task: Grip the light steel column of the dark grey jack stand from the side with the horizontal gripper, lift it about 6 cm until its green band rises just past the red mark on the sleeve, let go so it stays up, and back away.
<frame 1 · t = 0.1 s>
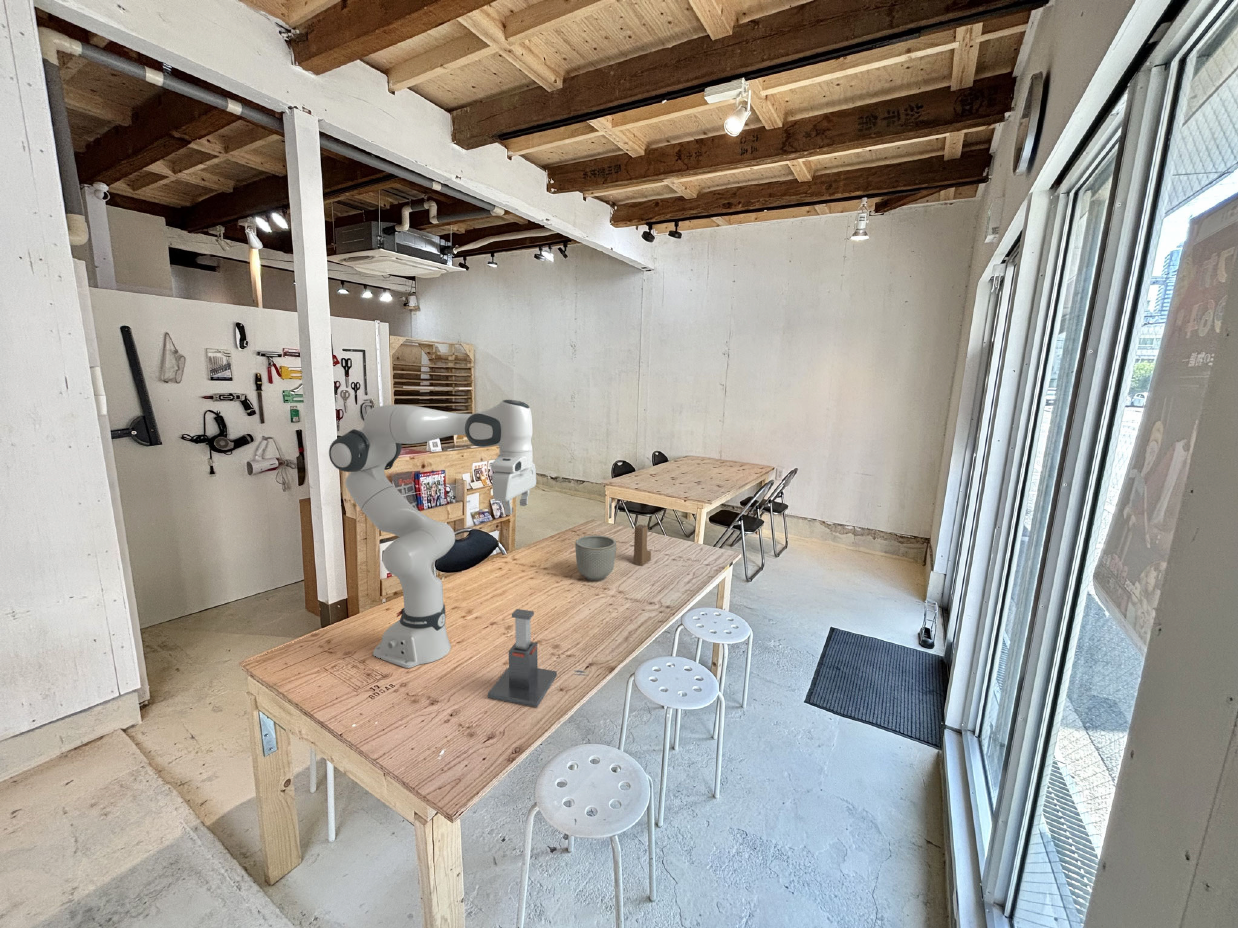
hand: (516, 509, 136), 48 cm above the table, tool pointing down, fingers open, 8 cm apart
jack stand: (523, 686, 135), on the table
wooden block: (642, 562, 228), on the table
planter: (595, 577, 210), on the table
column: (523, 646, 133), point 12 cm above the table, slide at 0.0 cm
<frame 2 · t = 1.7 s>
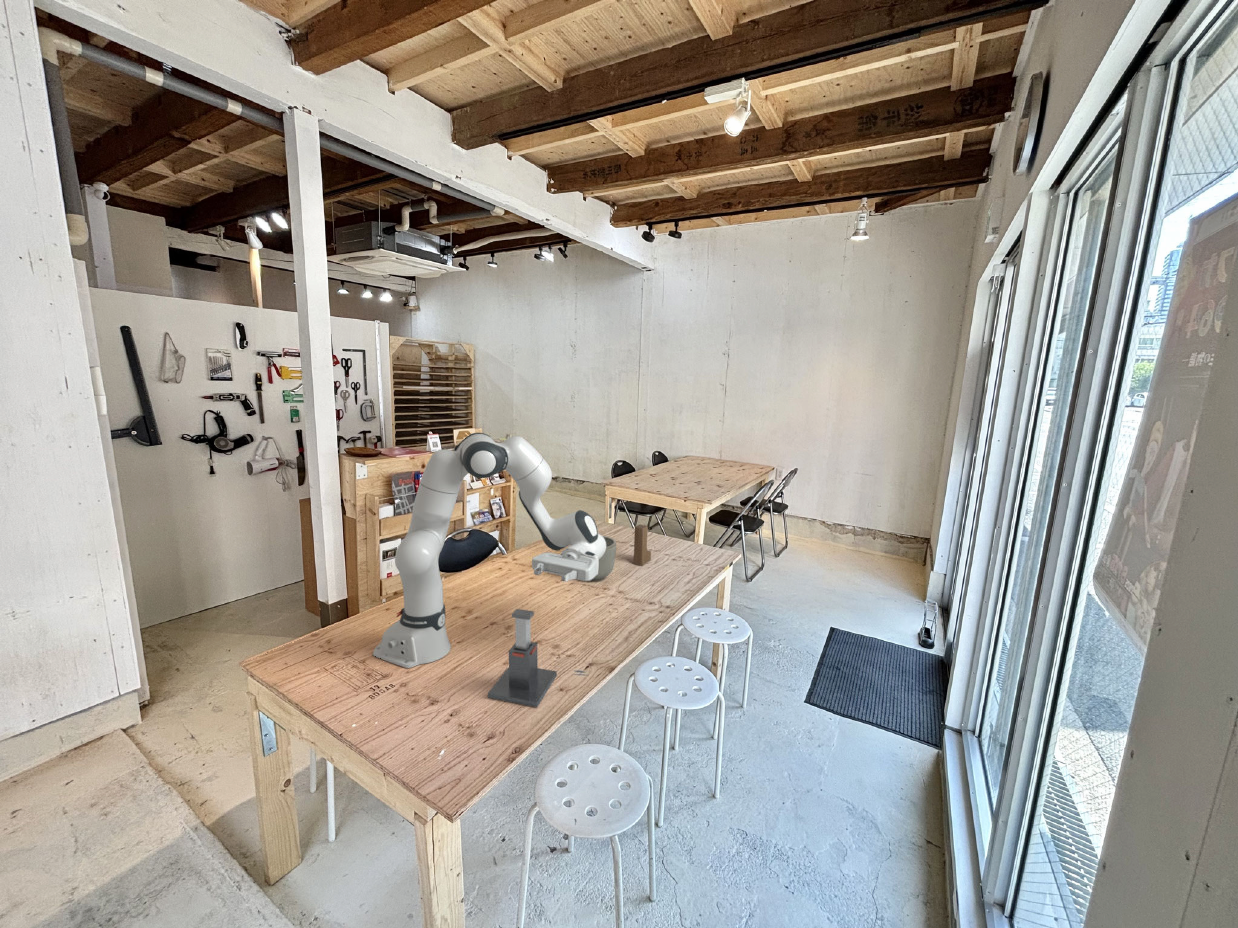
hand: (549, 575, 141), 28 cm above the table, tool horizontal, fingers open, 8 cm apart
nothing on the table moved.
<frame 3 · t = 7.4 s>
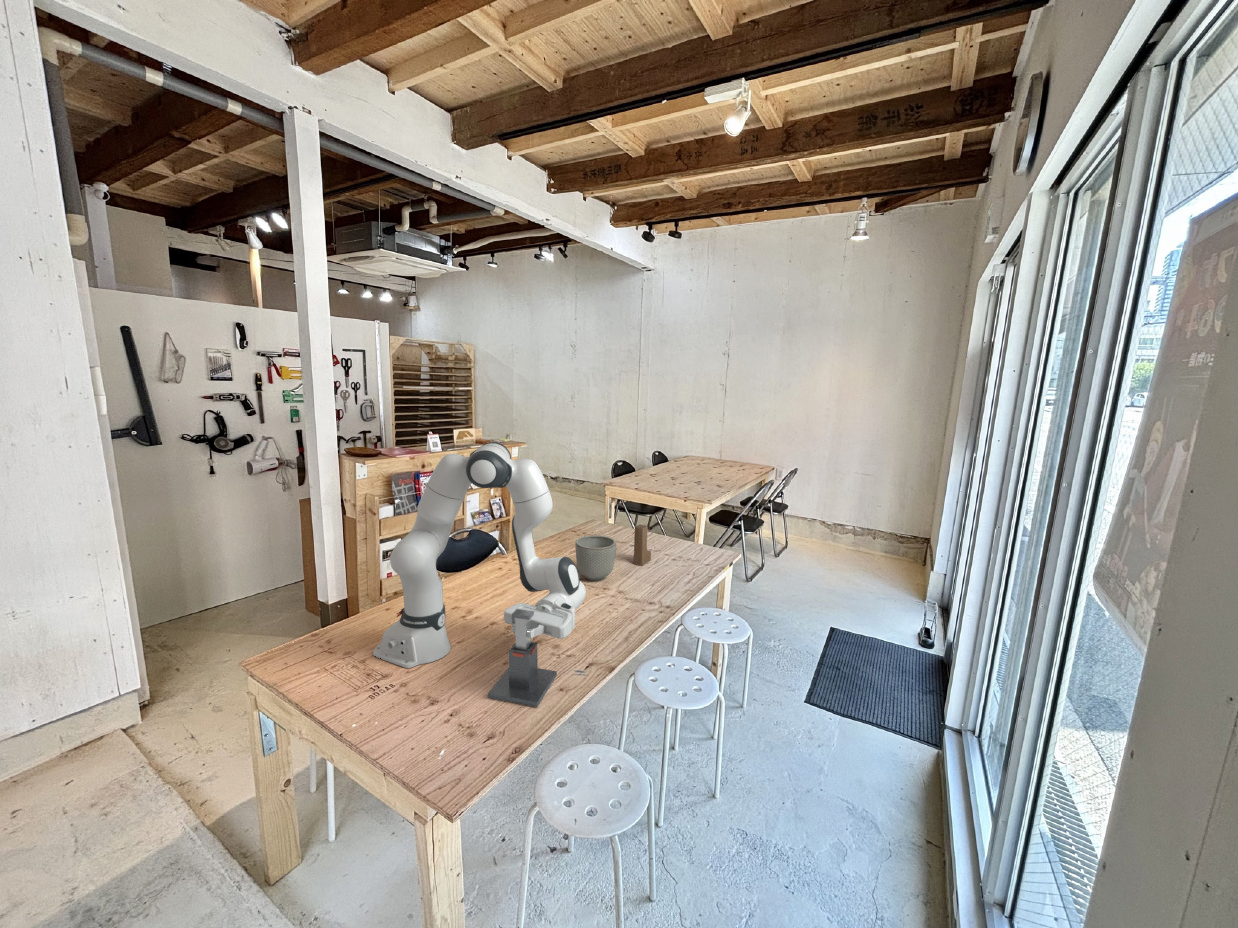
hand: (521, 632, 132), 17 cm above the table, tool horizontal, fingers closed on column, 3 cm apart
column: (523, 646, 133), point 12 cm above the table, slide at 0.0 cm, touching gripper
everything else where it was.
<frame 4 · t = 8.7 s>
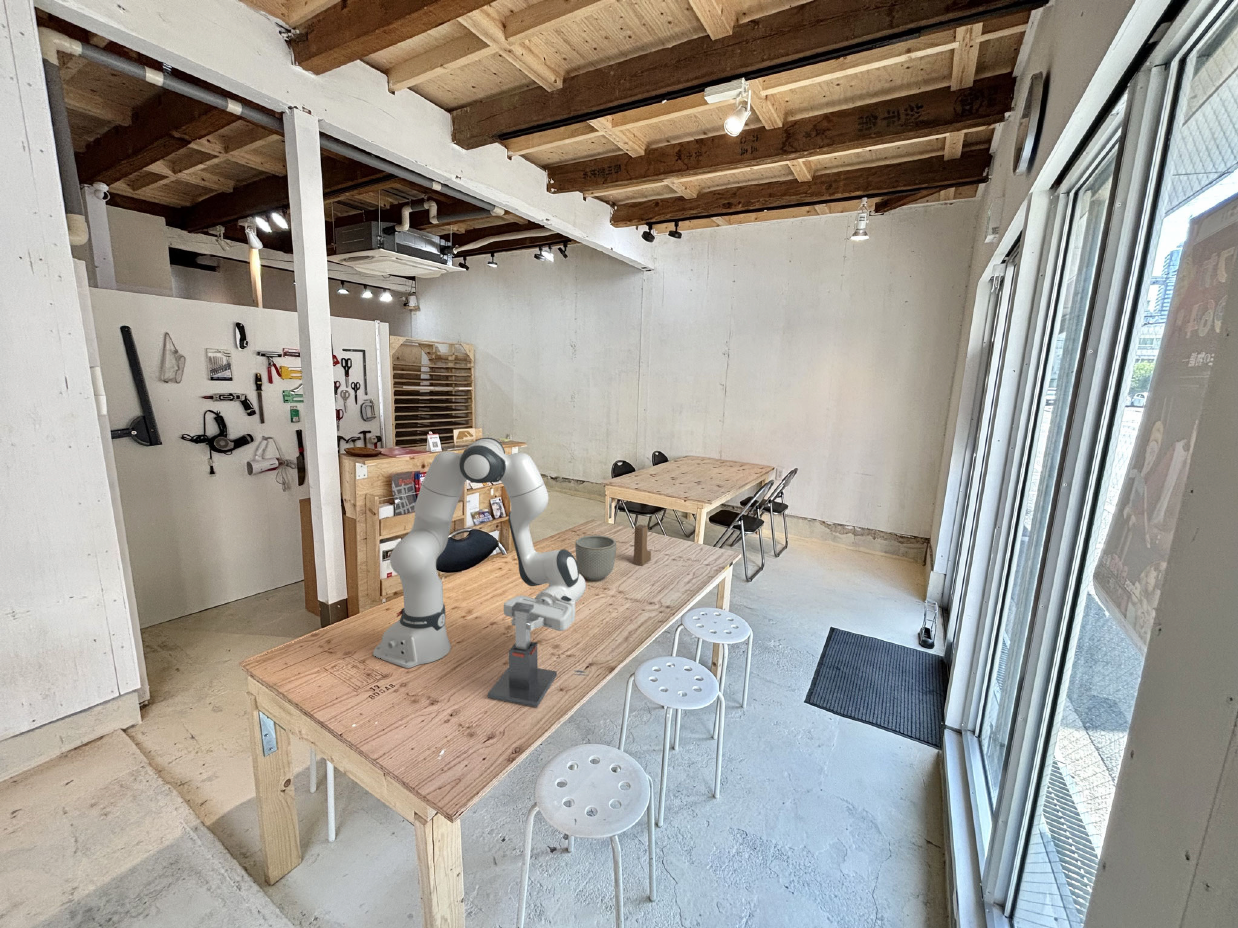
hand: (521, 625, 131), 19 cm above the table, tool horizontal, fingers closed on column, 3 cm apart
column: (523, 640, 133), point 14 cm above the table, slide at 2.0 cm, touching gripper
everything else where it was.
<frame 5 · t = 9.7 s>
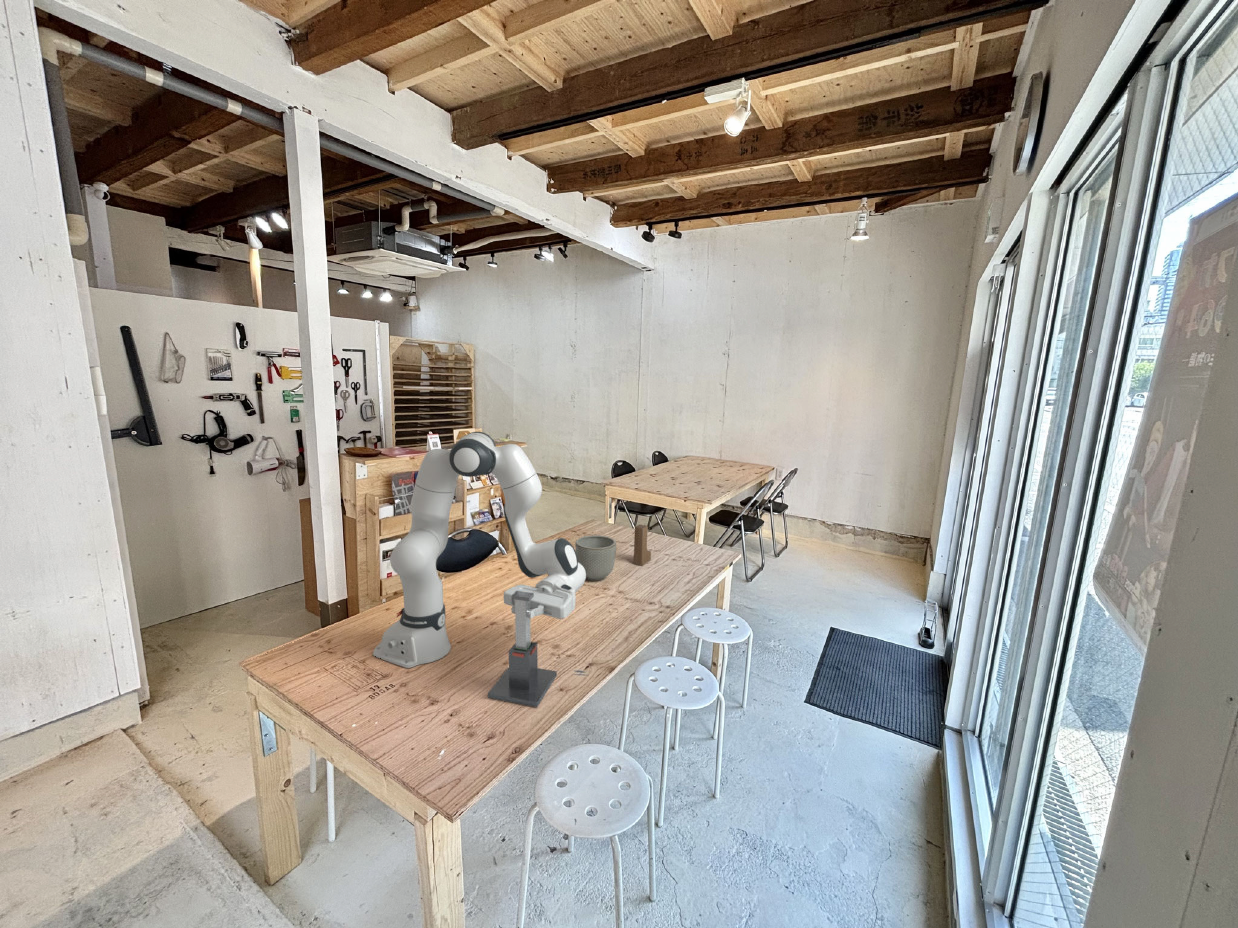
hand: (520, 613, 131), 22 cm above the table, tool horizontal, fingers closed on column, 3 cm apart
column: (523, 628, 132), point 17 cm above the table, slide at 5.3 cm, touching gripper
everything else where it was.
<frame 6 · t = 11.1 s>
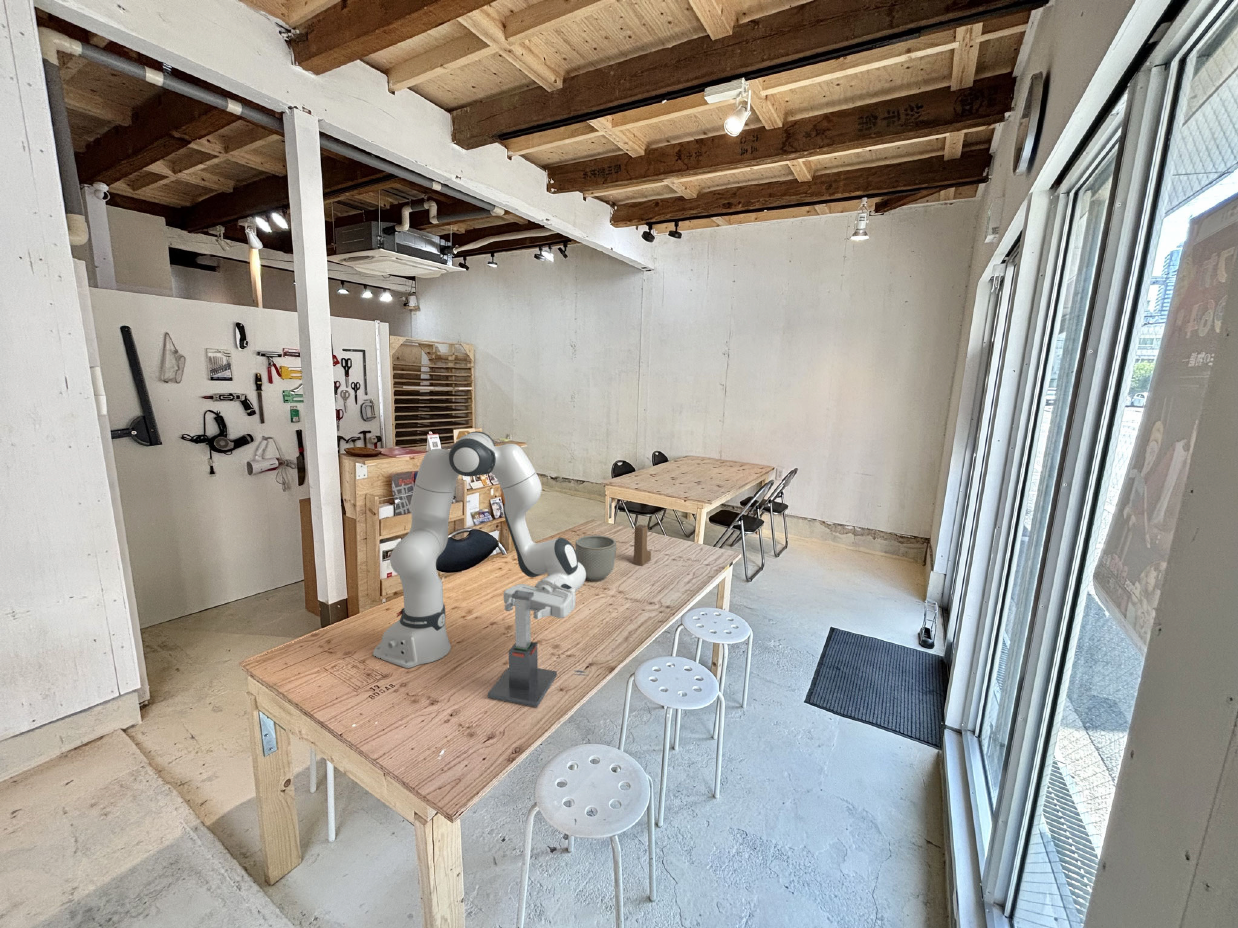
hand: (520, 612, 131), 22 cm above the table, tool horizontal, fingers open, 8 cm apart
column: (523, 628, 132), point 17 cm above the table, slide at 5.4 cm
everything else where it was.
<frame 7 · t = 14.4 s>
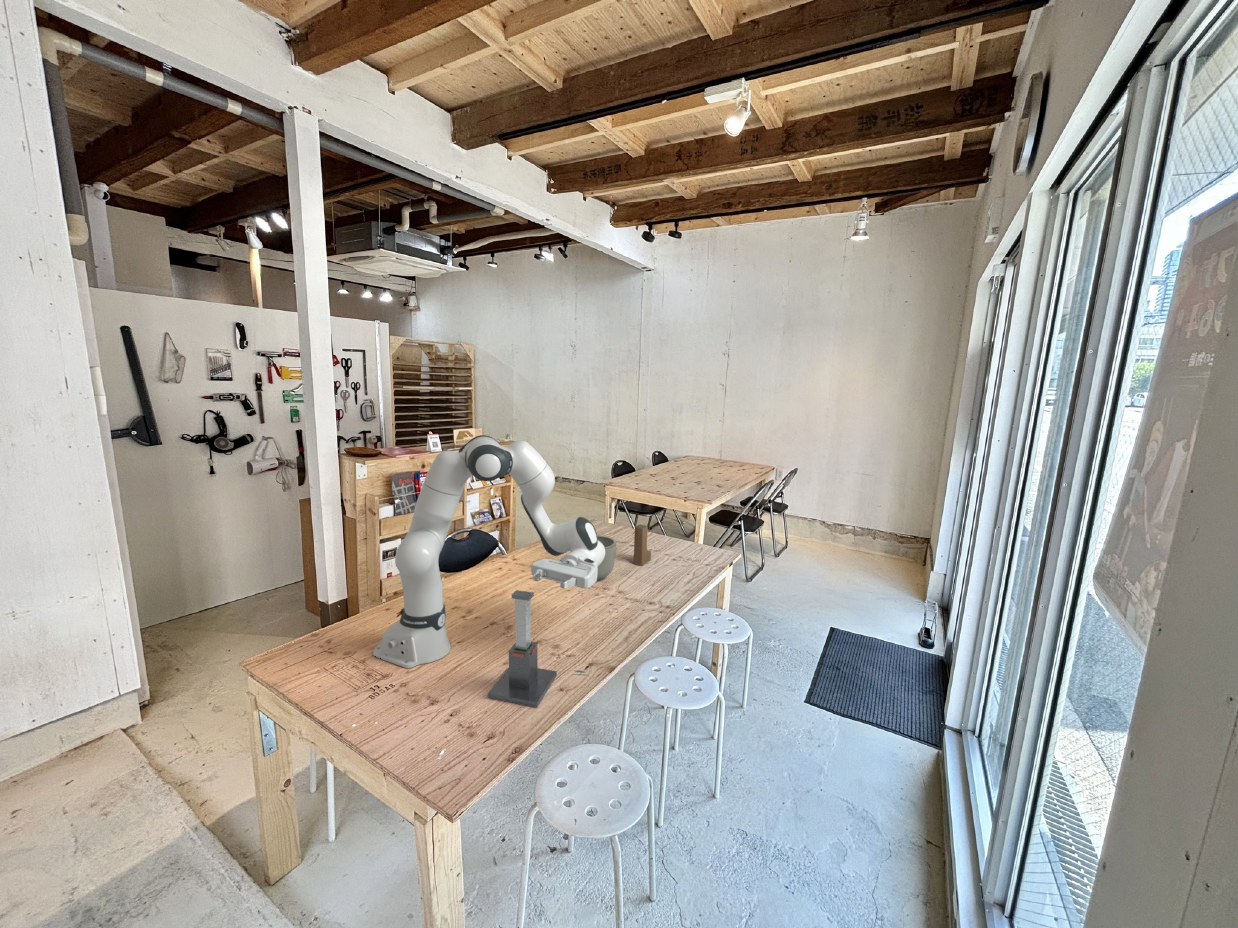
hand: (548, 582, 142), 26 cm above the table, tool horizontal, fingers open, 8 cm apart
nothing on the table moved.
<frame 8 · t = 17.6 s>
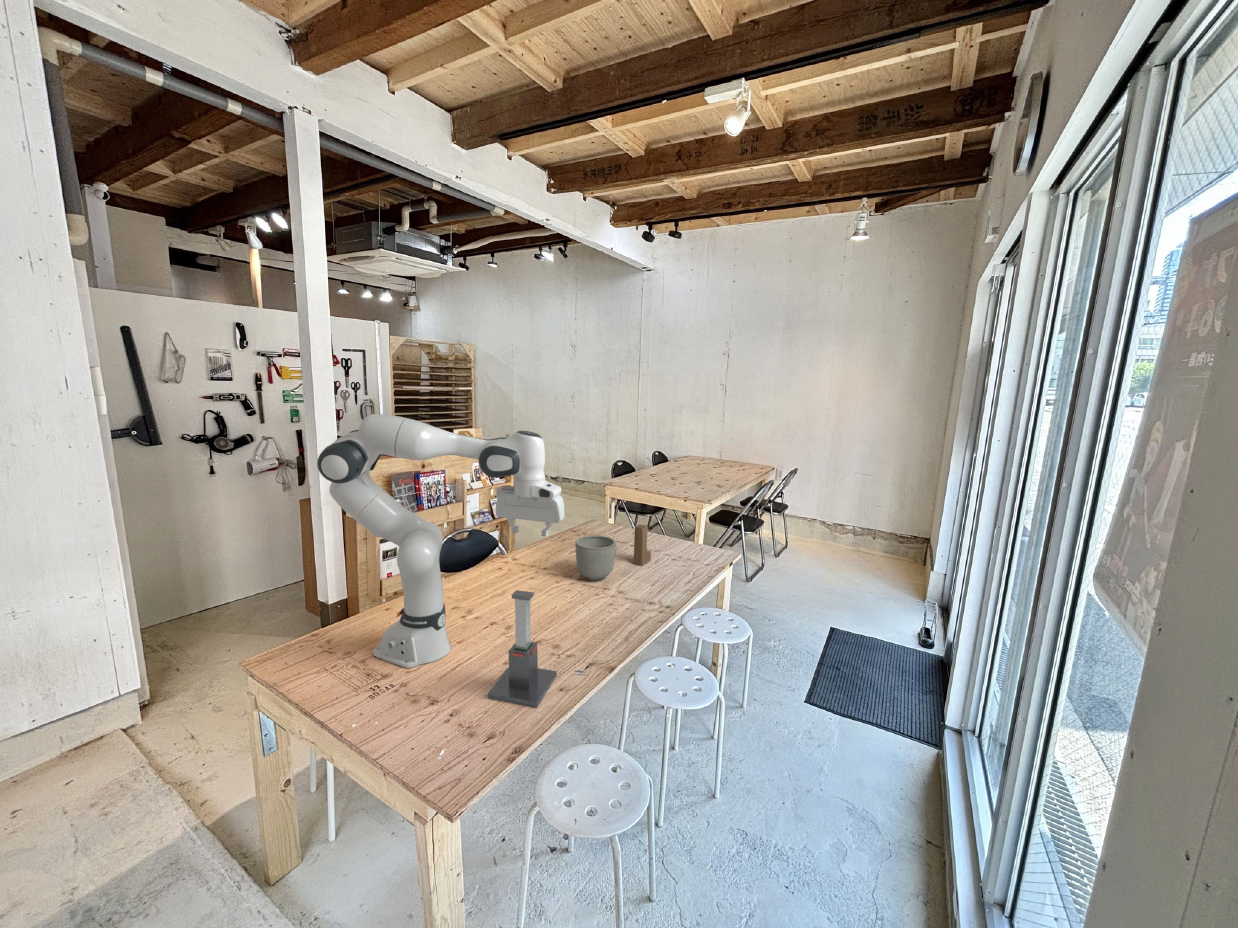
hand: (529, 534, 143), 39 cm above the table, tool pointing down, fingers open, 8 cm apart
nothing on the table moved.
at the end: column slide at 5.4 cm; the gripper is holding nothing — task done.
